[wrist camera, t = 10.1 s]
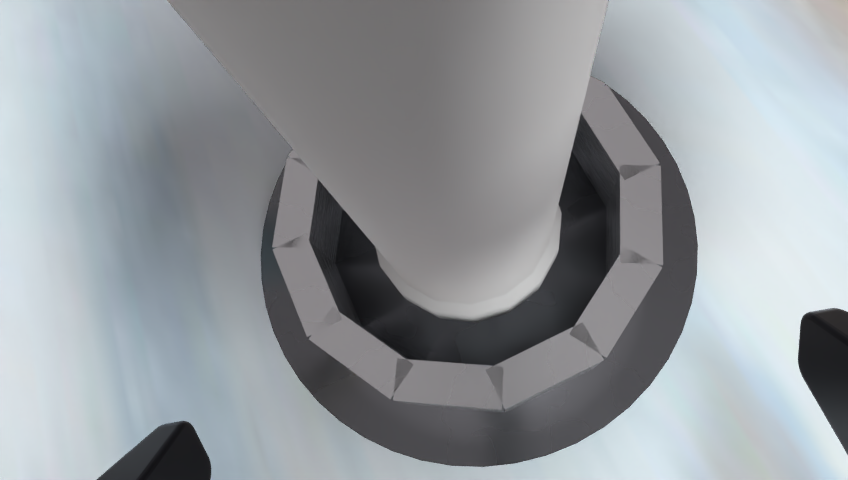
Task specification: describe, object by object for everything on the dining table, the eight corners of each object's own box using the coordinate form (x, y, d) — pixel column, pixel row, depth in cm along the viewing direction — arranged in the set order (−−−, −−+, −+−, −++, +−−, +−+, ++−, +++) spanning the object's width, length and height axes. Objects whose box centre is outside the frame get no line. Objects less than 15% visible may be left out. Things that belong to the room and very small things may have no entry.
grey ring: (768, 182, 18) (823, 128, 15) (537, 566, 16) (543, 601, 13) (420, 7, 22) (404, -67, 19) (195, 303, 20) (131, 278, 17)
